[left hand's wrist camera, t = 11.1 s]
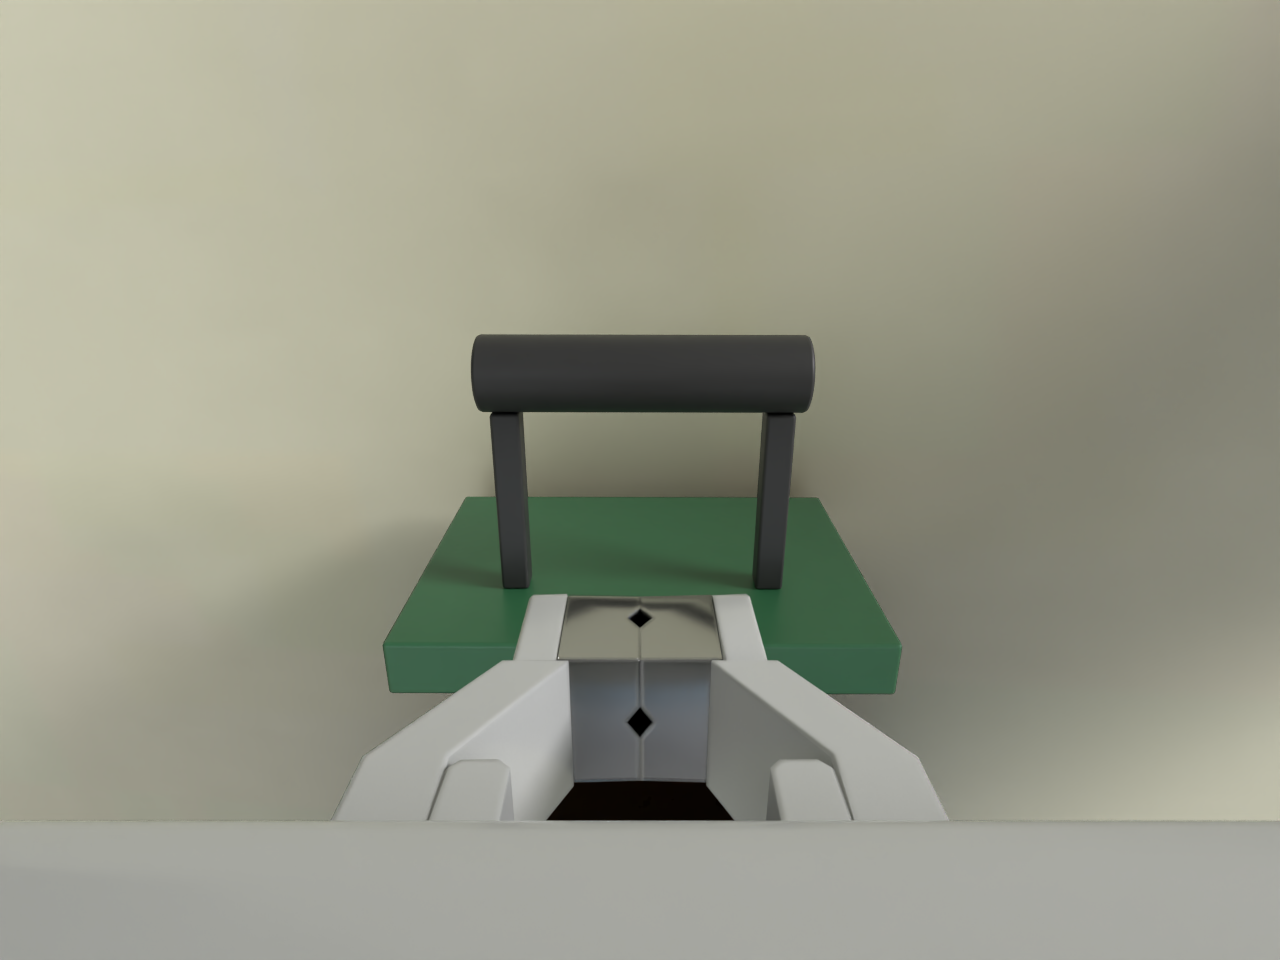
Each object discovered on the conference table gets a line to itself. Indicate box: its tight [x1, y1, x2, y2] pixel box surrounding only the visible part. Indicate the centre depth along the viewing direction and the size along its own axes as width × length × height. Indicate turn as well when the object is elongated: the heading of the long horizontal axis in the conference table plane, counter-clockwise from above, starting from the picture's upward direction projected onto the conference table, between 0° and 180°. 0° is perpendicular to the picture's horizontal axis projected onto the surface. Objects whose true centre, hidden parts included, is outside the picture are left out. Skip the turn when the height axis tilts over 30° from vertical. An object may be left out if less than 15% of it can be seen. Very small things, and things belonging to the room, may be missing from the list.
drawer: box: [383, 335, 902, 821], centre depth 19 cm, size 19×10×8 cm, turn 0°
